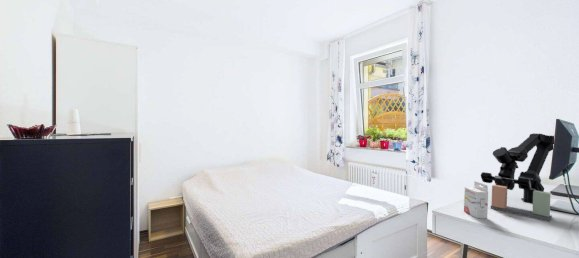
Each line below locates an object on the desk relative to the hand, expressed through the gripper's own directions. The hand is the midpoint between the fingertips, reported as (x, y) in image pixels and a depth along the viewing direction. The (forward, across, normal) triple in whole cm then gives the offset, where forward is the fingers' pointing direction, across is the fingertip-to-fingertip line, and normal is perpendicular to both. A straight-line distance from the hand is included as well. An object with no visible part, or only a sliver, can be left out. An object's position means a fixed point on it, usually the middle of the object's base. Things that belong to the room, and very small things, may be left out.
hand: (500, 193), depth 121 cm
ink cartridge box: (+20, +4, +10) cm, 23 cm away
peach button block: (+6, 0, -2) cm, 6 cm away
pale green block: (+4, -14, -4) cm, 15 cm away
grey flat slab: (+5, -7, -5) cm, 10 cm away
